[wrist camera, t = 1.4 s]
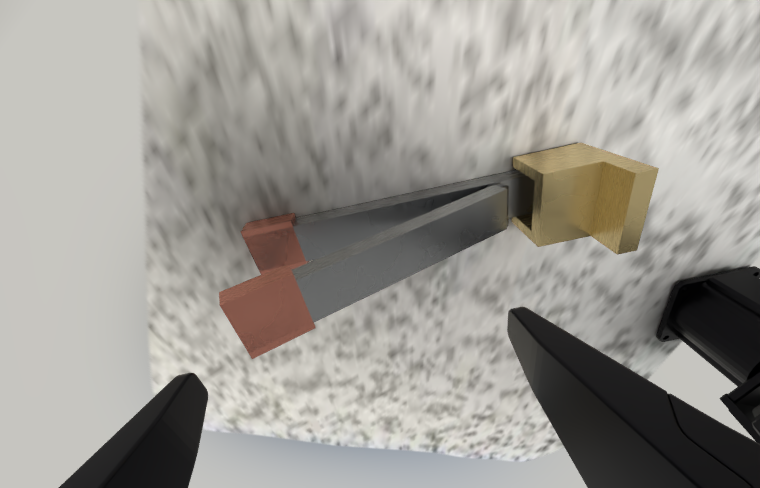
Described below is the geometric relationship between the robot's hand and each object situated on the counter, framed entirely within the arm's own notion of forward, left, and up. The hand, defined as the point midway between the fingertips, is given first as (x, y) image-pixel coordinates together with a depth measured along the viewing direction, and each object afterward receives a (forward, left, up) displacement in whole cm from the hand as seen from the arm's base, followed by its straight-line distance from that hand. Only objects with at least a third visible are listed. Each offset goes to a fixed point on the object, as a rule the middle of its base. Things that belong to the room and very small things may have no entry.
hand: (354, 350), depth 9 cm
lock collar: (-2, -12, -12) cm, 17 cm away
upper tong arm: (-2, -1, -8) cm, 8 cm away
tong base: (-2, -4, -12) cm, 12 cm away
